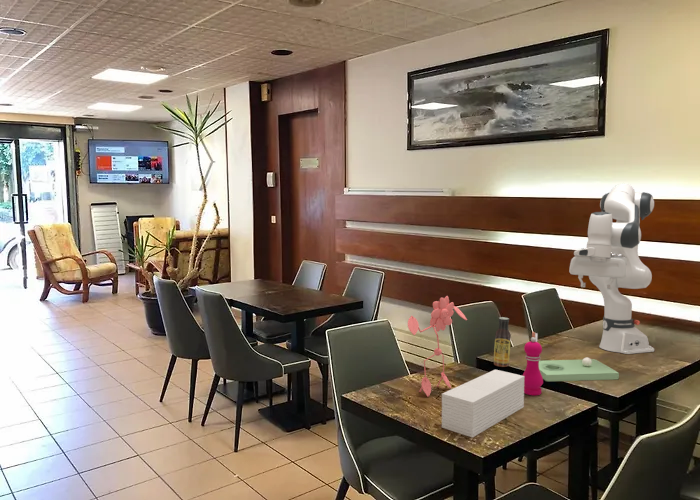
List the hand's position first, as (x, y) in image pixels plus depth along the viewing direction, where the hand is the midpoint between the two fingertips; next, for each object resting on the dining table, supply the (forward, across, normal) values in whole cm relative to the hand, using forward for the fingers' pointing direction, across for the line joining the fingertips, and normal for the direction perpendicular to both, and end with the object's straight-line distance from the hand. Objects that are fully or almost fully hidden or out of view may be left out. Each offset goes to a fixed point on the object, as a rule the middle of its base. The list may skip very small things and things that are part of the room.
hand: (595, 288), depth 219 cm
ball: (+29, +1, -2) cm, 29 cm away
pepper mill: (+39, +22, +26) cm, 51 cm away
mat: (+34, +6, -1) cm, 35 cm away
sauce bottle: (+35, +33, -4) cm, 48 cm away
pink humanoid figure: (+42, +53, +35) cm, 76 cm away
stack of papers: (+43, +38, +52) cm, 77 cm away
